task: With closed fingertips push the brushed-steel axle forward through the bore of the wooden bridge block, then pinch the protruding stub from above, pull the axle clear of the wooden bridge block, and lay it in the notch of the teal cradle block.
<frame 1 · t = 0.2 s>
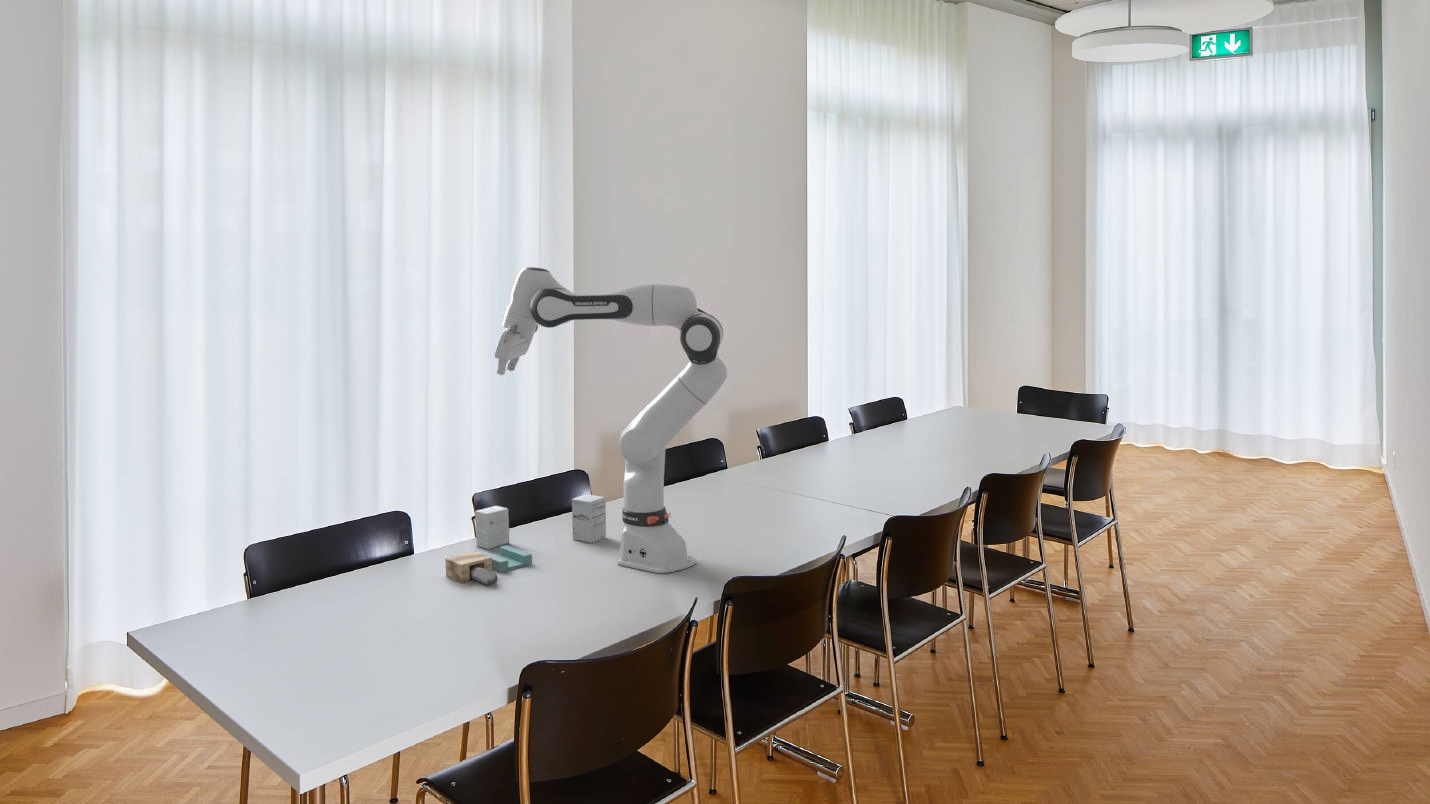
hand: (505, 372, 263), 52 cm above the table, tool tilted 20°, fingers open, 8 cm apart
axle: (473, 577, 252), on the table, tilted 5°
supplement box: (589, 539, 286), on the table
cradle: (504, 563, 263), on the table
small box: (493, 545, 281), on the table
wooden bridge block: (469, 575, 253), on the table
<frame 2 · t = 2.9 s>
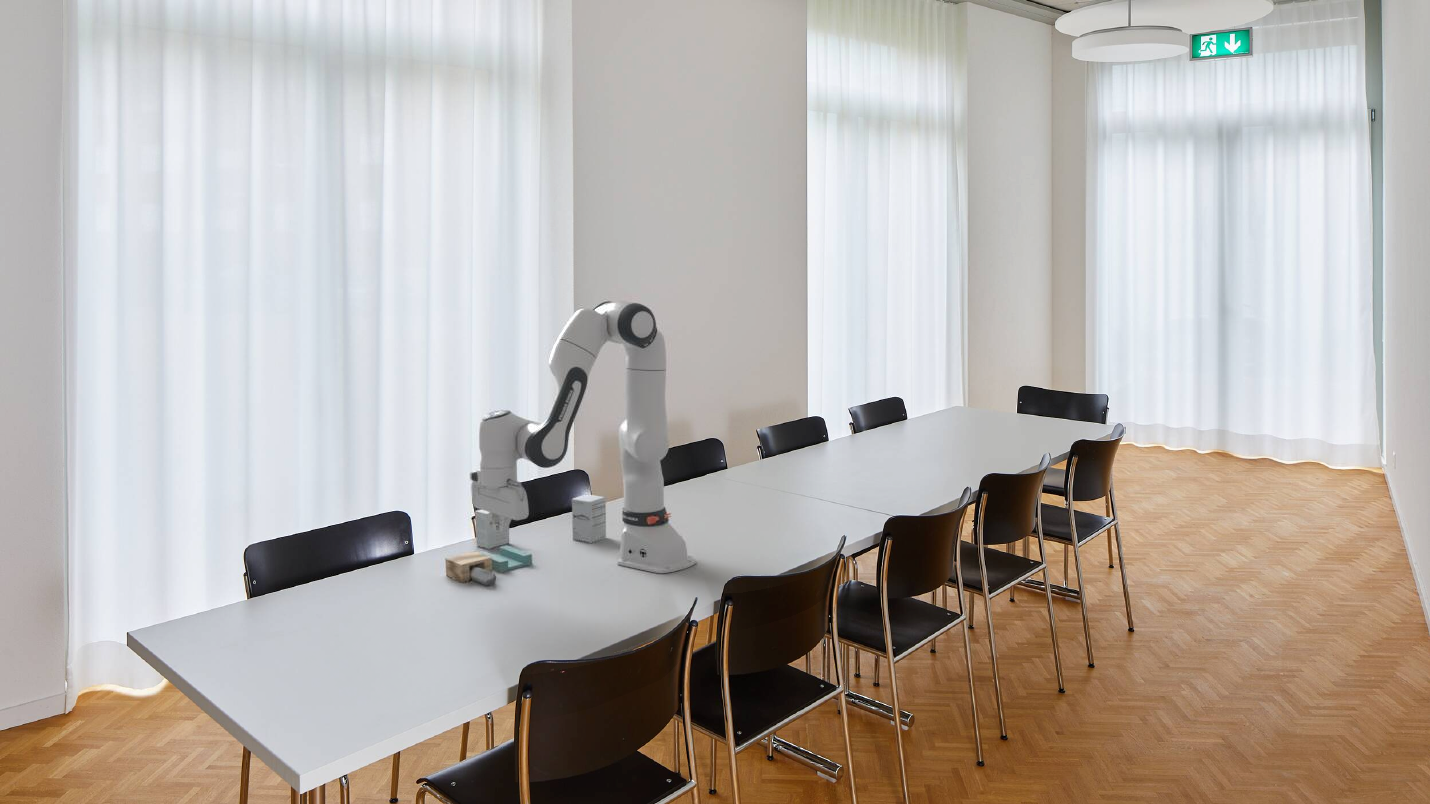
hand: (501, 530, 240), 15 cm above the table, tool pointing down, fingers closed
axle: (473, 577, 252), on the table, tilted 19°
everything else where it was.
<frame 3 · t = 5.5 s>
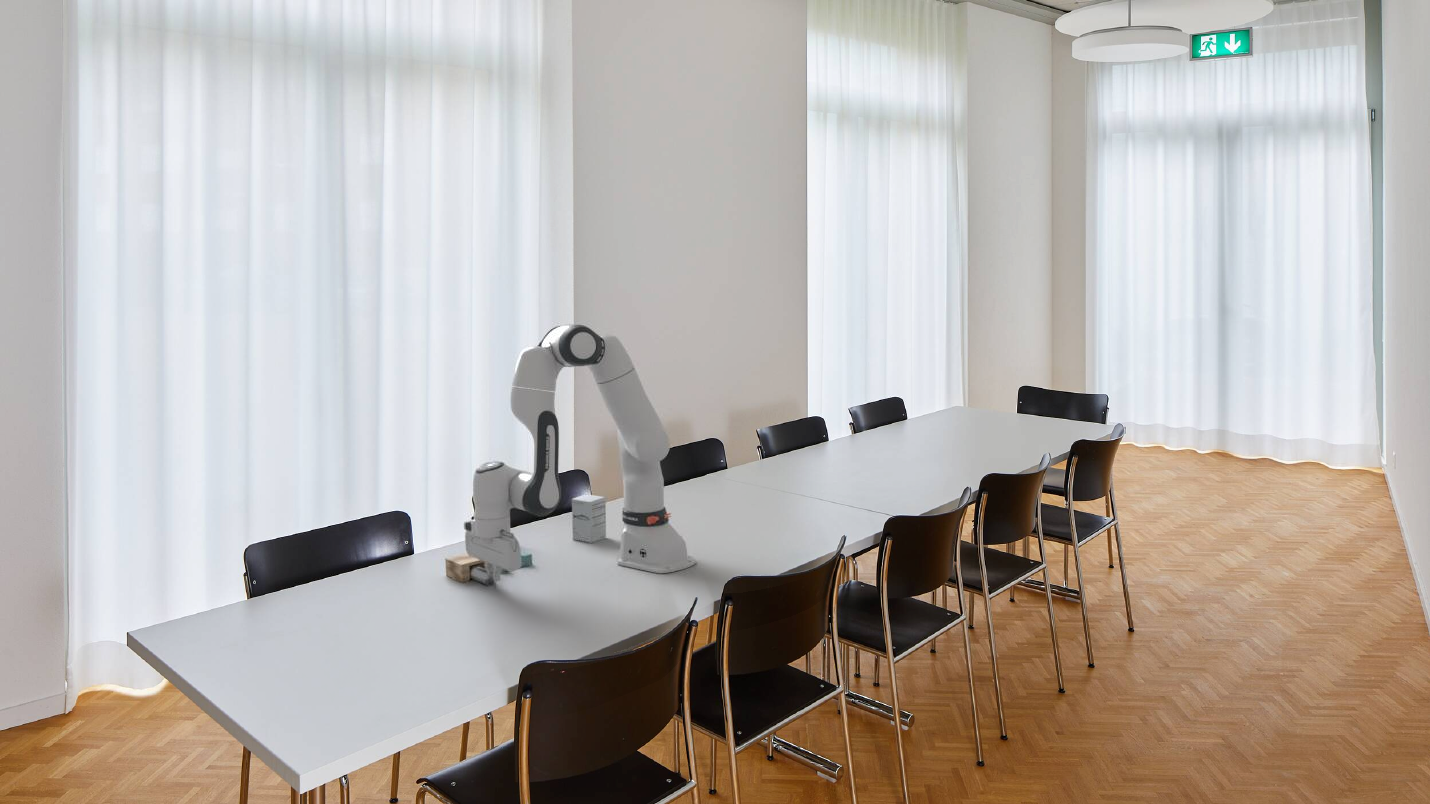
hand: (494, 579, 244), 2 cm above the table, tool pointing down, fingers closed
axle: (472, 576, 252), on the table, tilted 14°, touching gripper
everything else where it was.
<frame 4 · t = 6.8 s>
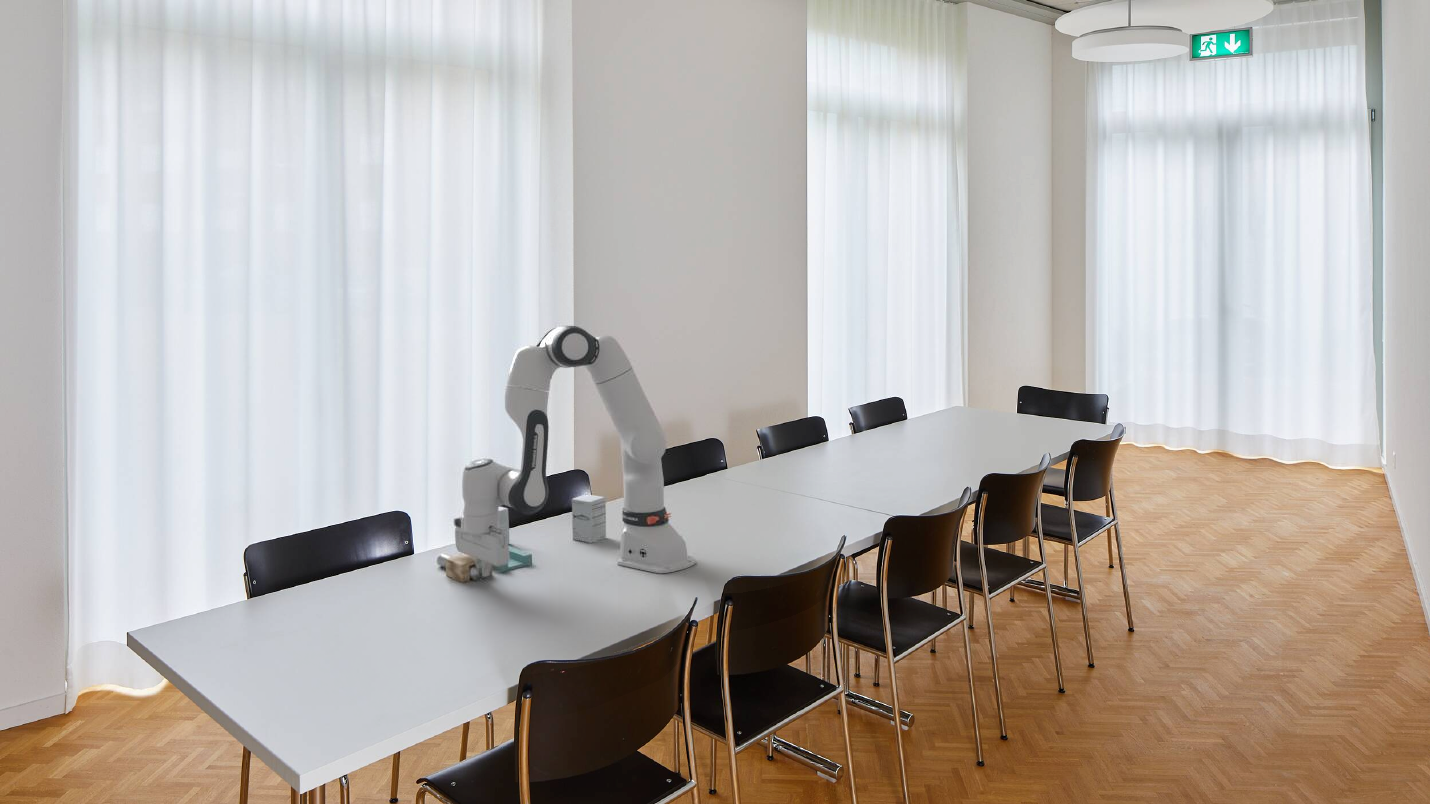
hand: (483, 575, 248), 2 cm above the table, tool pointing down, fingers closed
axle: (462, 572, 256), on the table, tilted 15°, touching gripper
everything else where it was.
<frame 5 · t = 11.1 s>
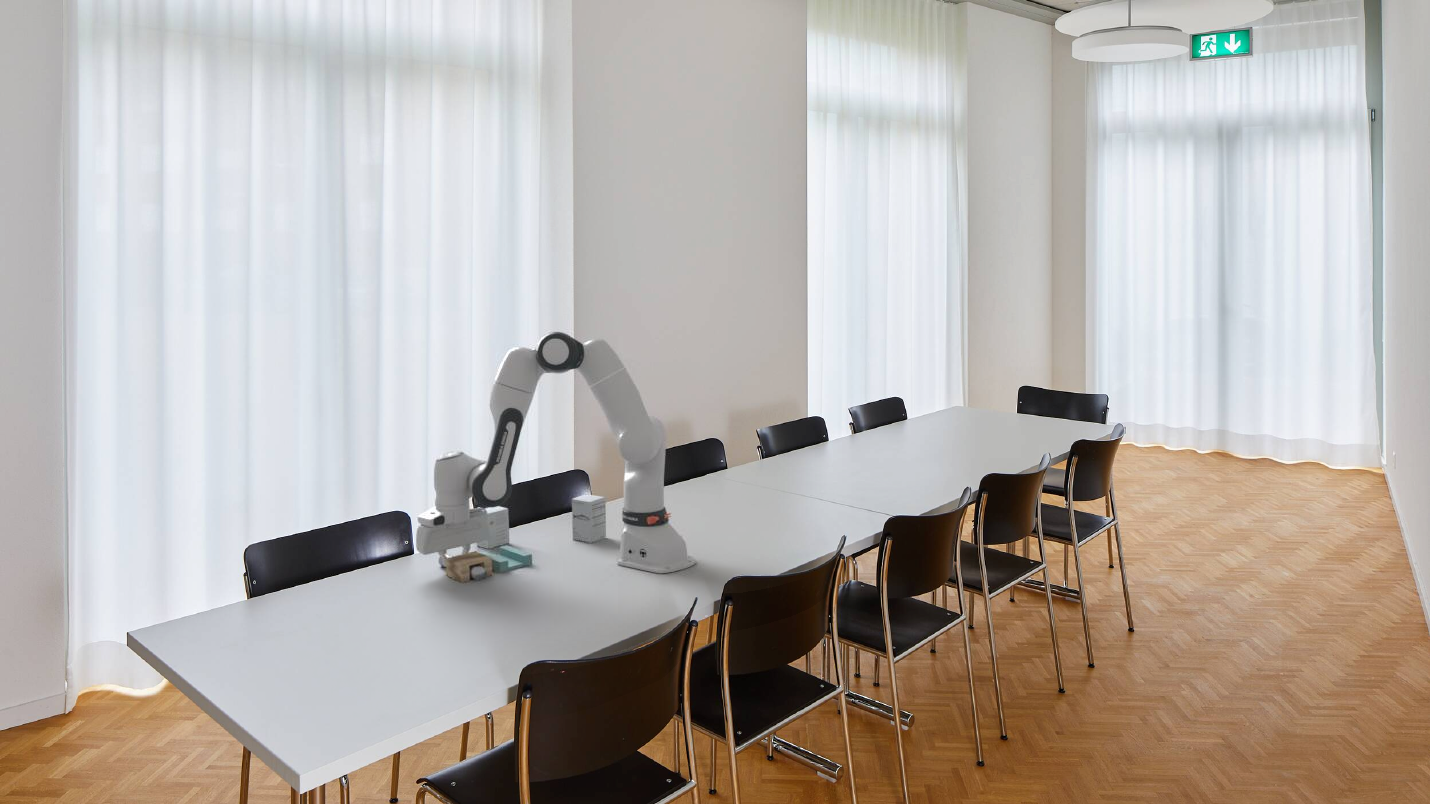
hand: (455, 563, 258), 2 cm above the table, tool pointing down, fingers closed on axle, 3 cm apart
axle: (462, 573, 256), on the table, touching gripper
everything else where it was.
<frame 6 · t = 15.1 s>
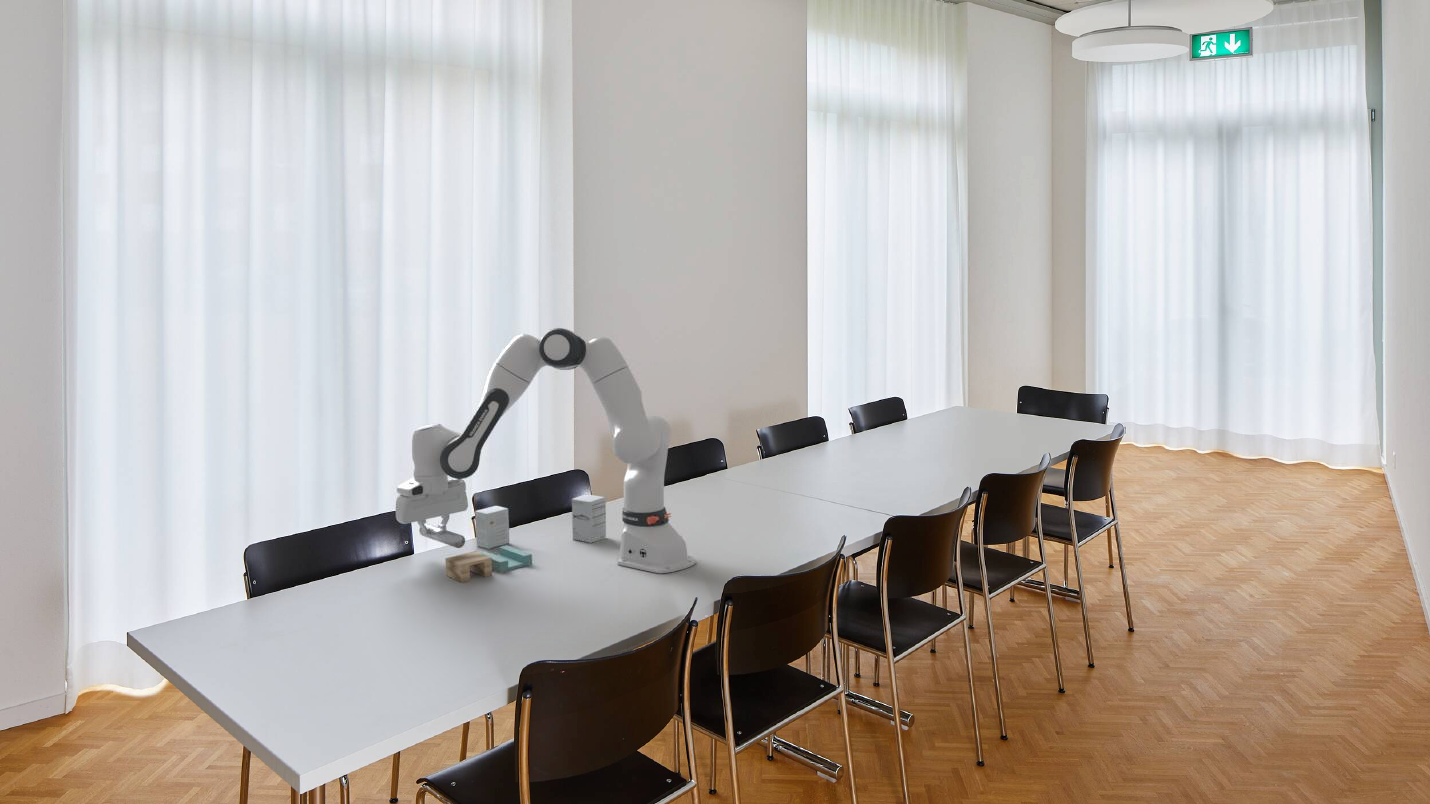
hand: (434, 532, 264), 8 cm above the table, tool pointing down, fingers closed on axle, 3 cm apart
axle: (442, 541, 262), point 6 cm above the table, touching gripper
everything else where it was.
when the fingers open (4 cm above the table, at t = 19.0 s): axle drops 1 cm, resting on cradle.
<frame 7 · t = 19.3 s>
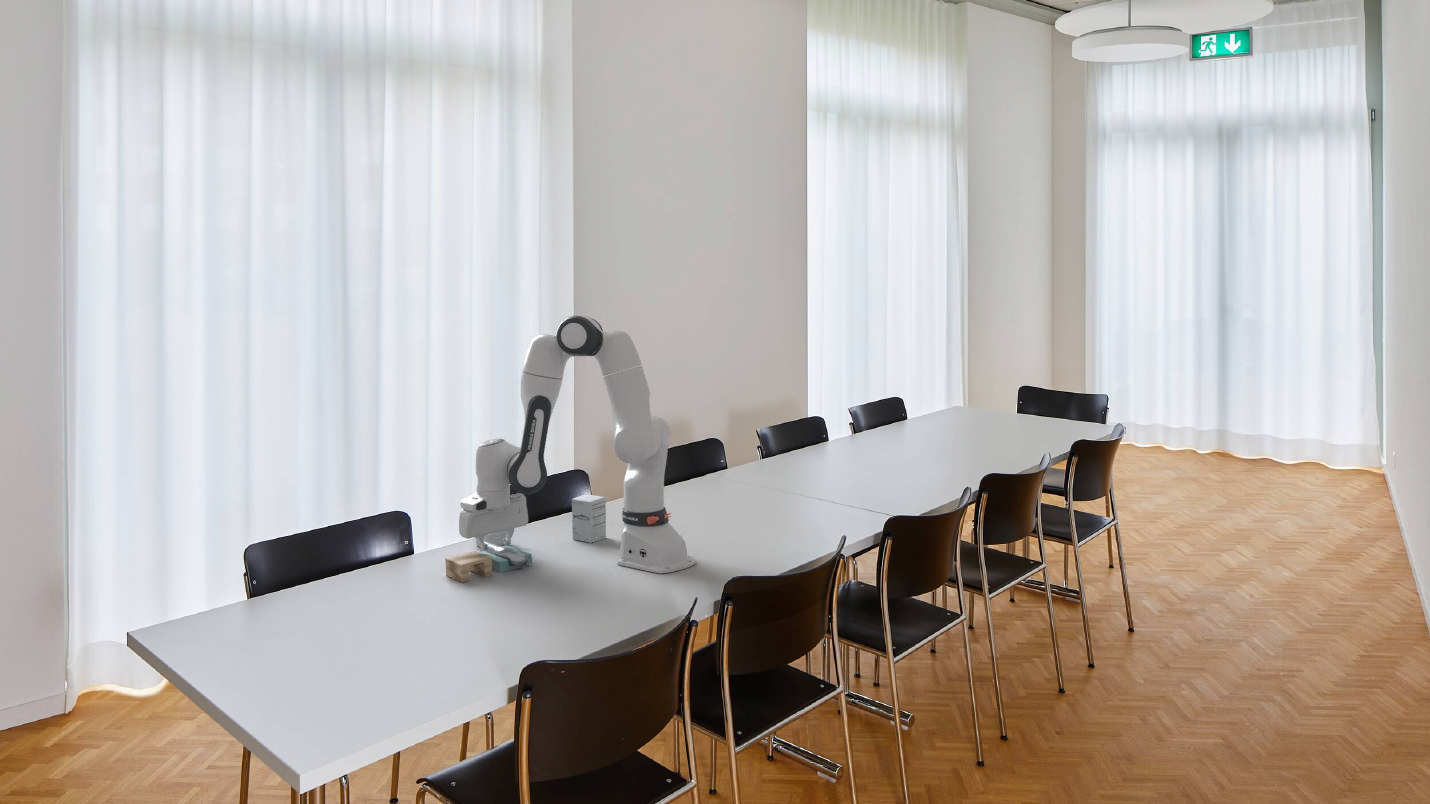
hand: (495, 547, 265), 4 cm above the table, tool pointing down, fingers open, 6 cm apart
axle: (503, 560, 263), point 1 cm above the table, touching cradle
everything else where it was.
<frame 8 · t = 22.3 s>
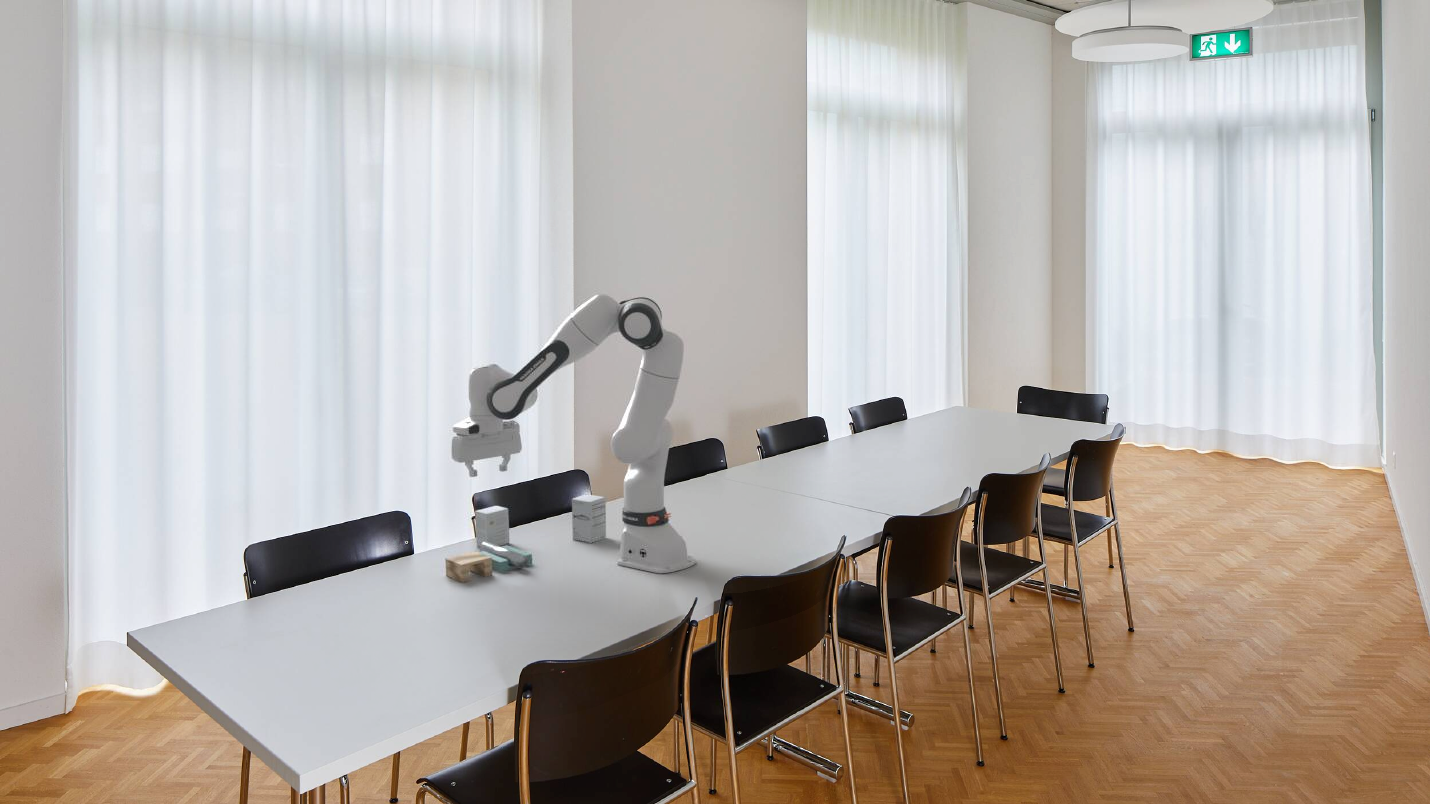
hand: (488, 473, 264), 24 cm above the table, tool pointing down, fingers open, 8 cm apart
nothing on the table moved.
at the end: axle inside the target area on the cradle (0.3 cm from its centre), point 0.8 cm above the cradle's base; the gripper is holding nothing; axle touching cradle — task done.
